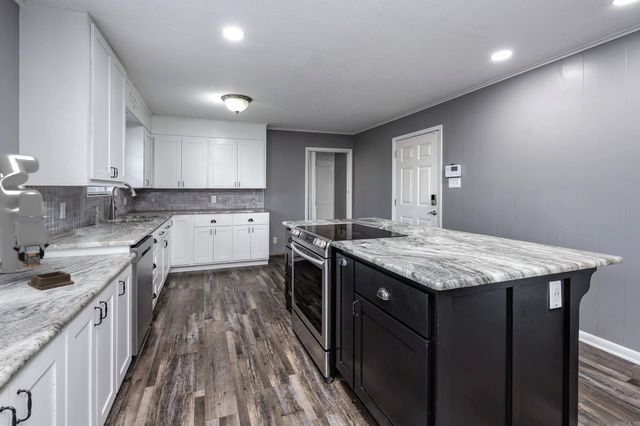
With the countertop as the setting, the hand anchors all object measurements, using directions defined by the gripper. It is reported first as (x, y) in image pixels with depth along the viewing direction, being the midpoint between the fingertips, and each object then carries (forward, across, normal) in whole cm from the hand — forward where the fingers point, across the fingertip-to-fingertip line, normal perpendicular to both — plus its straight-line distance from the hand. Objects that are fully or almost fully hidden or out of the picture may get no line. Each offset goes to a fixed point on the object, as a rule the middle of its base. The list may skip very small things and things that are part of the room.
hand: (31, 259), depth 138 cm
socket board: (+8, -1, +18) cm, 19 cm away
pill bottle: (+4, 0, 0) cm, 4 cm away
